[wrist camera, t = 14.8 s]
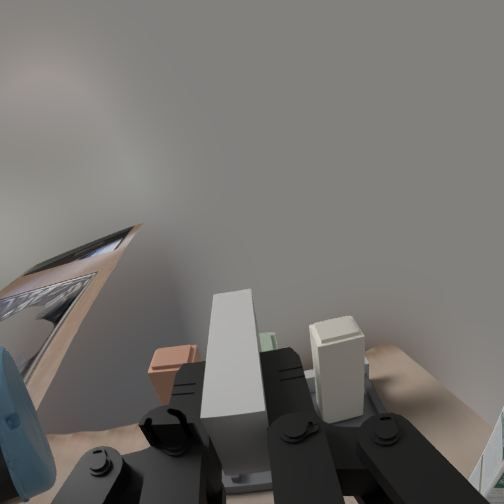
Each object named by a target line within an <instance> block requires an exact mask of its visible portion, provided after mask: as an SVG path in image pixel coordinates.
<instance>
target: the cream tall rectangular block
mask: <svg viewBox="0 0 504 504" xmlns="http://www.w3.org/2000/svg"><path fill="white" fill-rule="evenodd" d="M309 329H310V338H311V347H312V356H313V366H314V376H315V386H316V397H317V404H318V407H319V410H320V414H321V417H322V420H323V421H325V422H326V423H328V424H330V423H334V422H338V421H342V420H346V419H350V418H354V417H357V416H361V415H363V402H364V366H365V343H364V342H365V337H364V334H363V333H362V331H361V330H360V328H359V327H358V325H357V324H356V322H355V321H354V319H353V318H352V316H344V317H340V318H335V319H330V320H326V321H321V322H317V323H314V324H313V325H309Z"/></svg>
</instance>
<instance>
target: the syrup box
mask: <svg viewBox="0 0 504 504" xmlns="http://www.w3.org/2000/svg"><path fill="white" fill-rule="evenodd" d="M468 481H469V482H470V483H471V484H472V485H473V486H474V487H475V488H476V490H477V491H478V492H479V493H480V494H481V495H482V496H483V497H484V498H485V499H486V500H487V501H488V502H489V503H490V504H504V407H503V409H502V412H501V414H500V416H499V419H498V421H497V423H496V426H495V428H494V430H493V433H492V435H491V437H490V439H489V441H488V443H487V445H486V447H485V449H484V451H483V453H482V455H481V457H480V459H479V461H478V463H477V465H476V467H475V469H474V470H473V472H472V474H471V476H470V477H469V479H468Z"/></svg>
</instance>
